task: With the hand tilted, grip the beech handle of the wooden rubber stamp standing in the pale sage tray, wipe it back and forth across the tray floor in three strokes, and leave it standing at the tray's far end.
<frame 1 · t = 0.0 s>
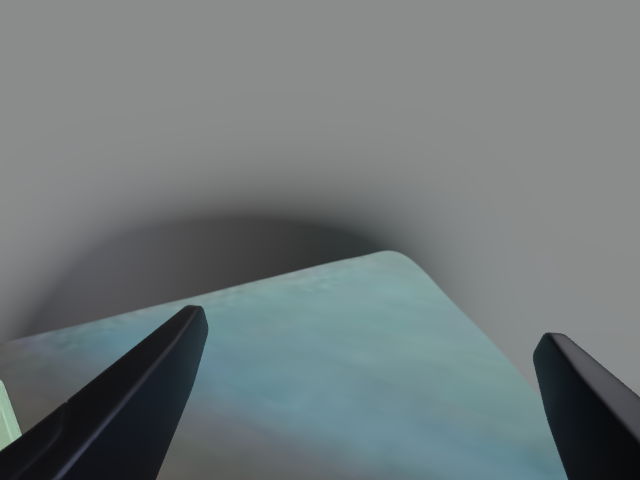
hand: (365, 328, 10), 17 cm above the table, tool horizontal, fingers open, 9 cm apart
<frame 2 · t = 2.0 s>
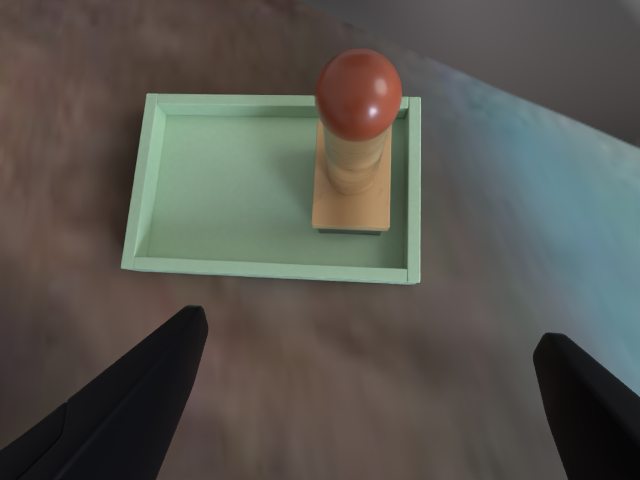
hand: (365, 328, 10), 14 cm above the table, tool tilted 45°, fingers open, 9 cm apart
tray: (279, 191, 25), on the table
wooden rubber stamp: (351, 190, 24), point 1 cm above the table, touching tray
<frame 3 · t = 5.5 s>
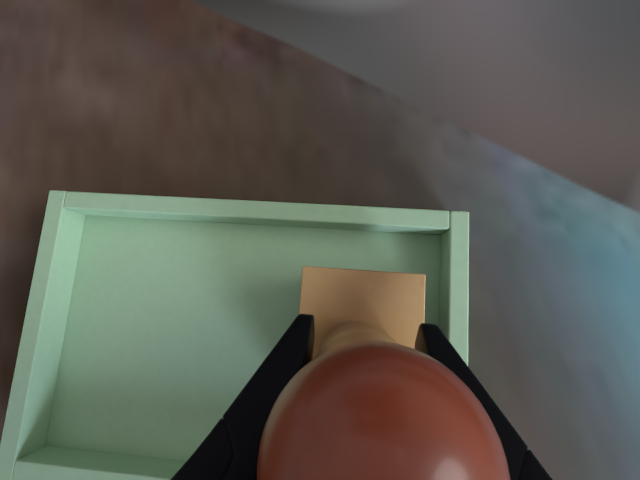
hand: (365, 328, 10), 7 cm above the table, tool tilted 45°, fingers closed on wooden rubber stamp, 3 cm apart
tray: (247, 338, 17), on the table
wooden rubber stamp: (355, 348, 16), point 1 cm above the table, touching gripper, tray
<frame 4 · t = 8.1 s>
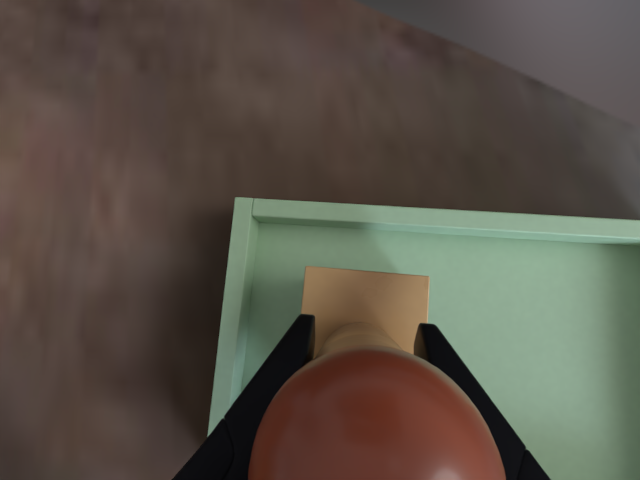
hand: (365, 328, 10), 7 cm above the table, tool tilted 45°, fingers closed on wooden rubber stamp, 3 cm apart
tray: (438, 353, 16), on the table
wooden rubber stamp: (358, 349, 16), point 1 cm above the table, touching gripper, tray
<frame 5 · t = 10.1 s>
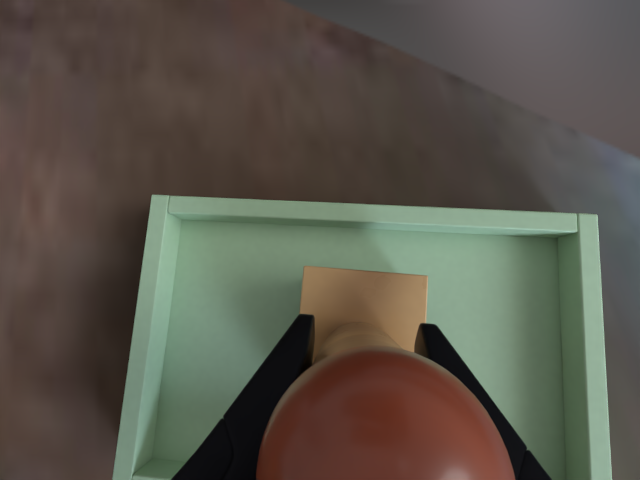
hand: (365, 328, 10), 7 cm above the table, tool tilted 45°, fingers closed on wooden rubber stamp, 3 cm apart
tray: (355, 345, 16), on the table
wooden rubber stamp: (355, 349, 16), point 1 cm above the table, touching gripper
when the fingers open (7 cm above the table, at t = 11.2 s): wooden rubber stamp stays where it is, resting on tray.
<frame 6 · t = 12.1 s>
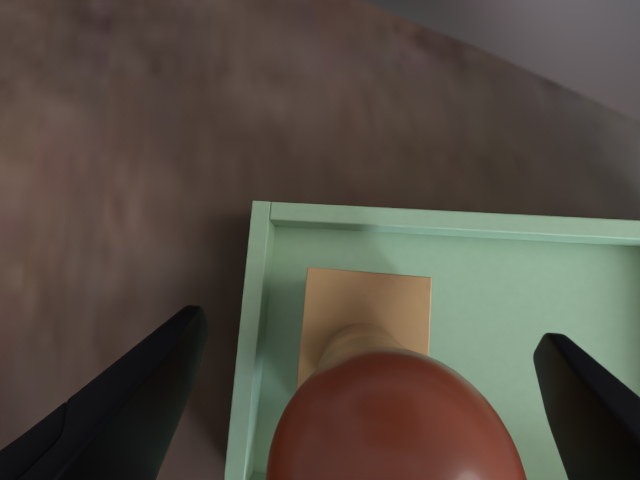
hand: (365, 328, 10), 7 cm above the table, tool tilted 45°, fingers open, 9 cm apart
tray: (457, 356, 16), on the table
wooden rubber stamp: (358, 351, 15), point 1 cm above the table, touching tray
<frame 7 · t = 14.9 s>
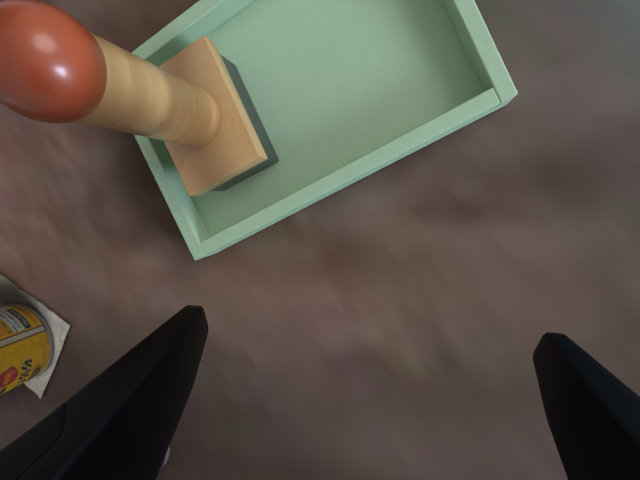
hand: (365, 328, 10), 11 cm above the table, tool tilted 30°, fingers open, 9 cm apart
tray: (295, 93, 20), on the table
condiment: (20, 330, 28), on the table
wooden rubber stamp: (229, 129, 21), point 1 cm above the table, touching tray
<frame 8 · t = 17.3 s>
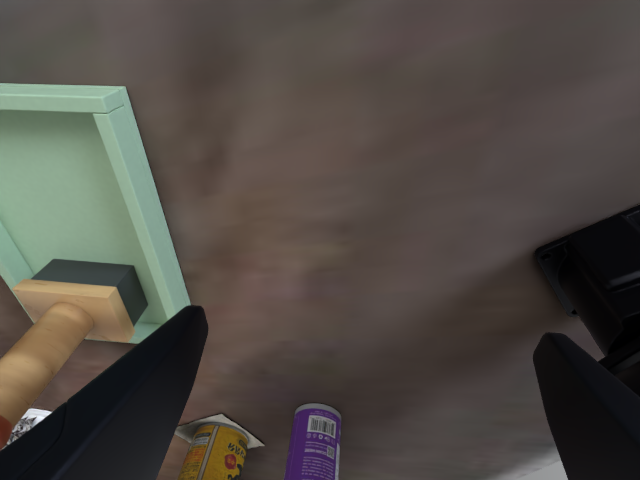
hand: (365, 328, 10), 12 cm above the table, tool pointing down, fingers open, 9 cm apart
tray: (84, 229, 24), on the table
condiment: (217, 433, 40), on the table
container: (318, 414, 36), on the table
decorative candle: (53, 425, 44), on the table
wooden rubber stamp: (102, 282, 26), point 1 cm above the table, touching tray
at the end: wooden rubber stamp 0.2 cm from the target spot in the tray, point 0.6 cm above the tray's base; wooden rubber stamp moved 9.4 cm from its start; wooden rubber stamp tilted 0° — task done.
